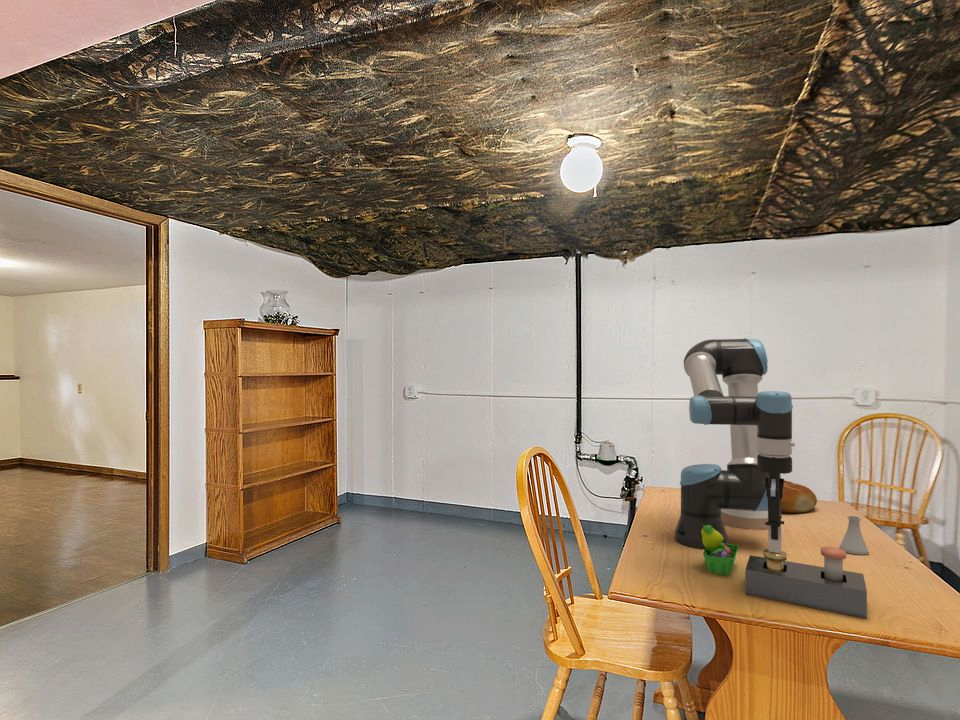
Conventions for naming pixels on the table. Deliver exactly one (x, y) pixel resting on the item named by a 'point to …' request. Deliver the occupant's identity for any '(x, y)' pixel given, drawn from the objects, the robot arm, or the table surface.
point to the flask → (854, 538)
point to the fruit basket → (717, 551)
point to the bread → (797, 498)
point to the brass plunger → (775, 560)
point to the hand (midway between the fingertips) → (774, 551)
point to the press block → (807, 587)
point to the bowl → (745, 519)
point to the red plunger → (833, 563)
